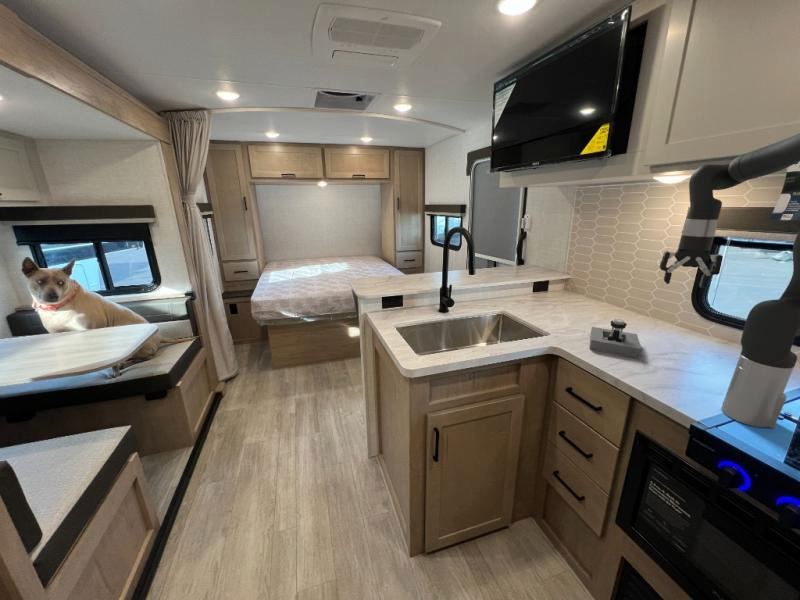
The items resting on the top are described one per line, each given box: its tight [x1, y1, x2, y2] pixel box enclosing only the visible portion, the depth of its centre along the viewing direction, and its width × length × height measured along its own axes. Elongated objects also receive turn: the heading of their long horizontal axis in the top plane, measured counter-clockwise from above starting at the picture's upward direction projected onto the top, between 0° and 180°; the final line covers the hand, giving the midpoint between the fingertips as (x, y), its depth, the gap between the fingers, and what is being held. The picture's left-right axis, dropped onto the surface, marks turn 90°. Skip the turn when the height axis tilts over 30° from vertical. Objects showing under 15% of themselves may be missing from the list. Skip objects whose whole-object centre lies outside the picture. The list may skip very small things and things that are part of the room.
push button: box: [603, 318, 627, 343], centre depth 126 cm, size 7×5×10 cm
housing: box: [589, 326, 642, 360], centre depth 128 cm, size 16×16×4 cm
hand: (683, 285), depth 103 cm, fingers open, 8 cm apart
